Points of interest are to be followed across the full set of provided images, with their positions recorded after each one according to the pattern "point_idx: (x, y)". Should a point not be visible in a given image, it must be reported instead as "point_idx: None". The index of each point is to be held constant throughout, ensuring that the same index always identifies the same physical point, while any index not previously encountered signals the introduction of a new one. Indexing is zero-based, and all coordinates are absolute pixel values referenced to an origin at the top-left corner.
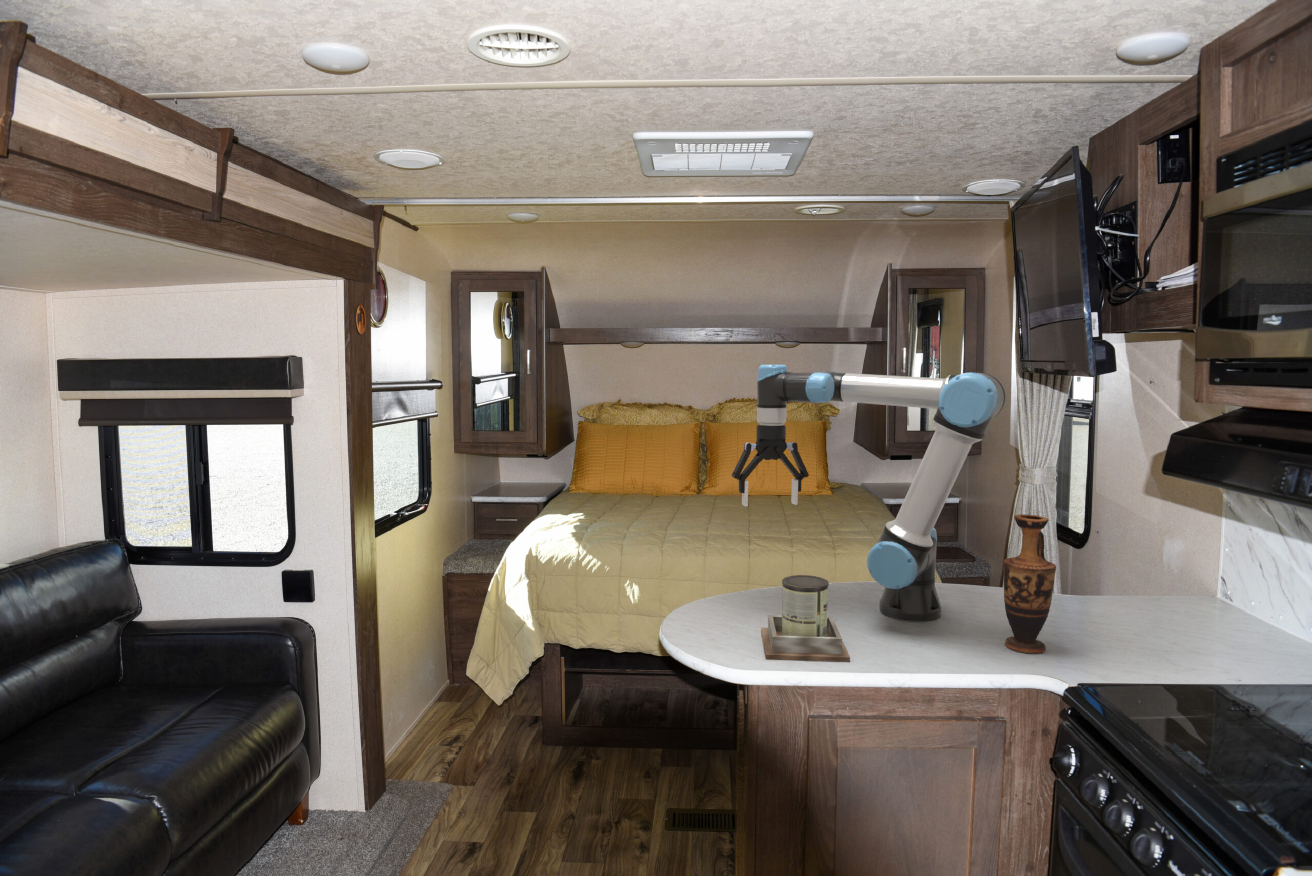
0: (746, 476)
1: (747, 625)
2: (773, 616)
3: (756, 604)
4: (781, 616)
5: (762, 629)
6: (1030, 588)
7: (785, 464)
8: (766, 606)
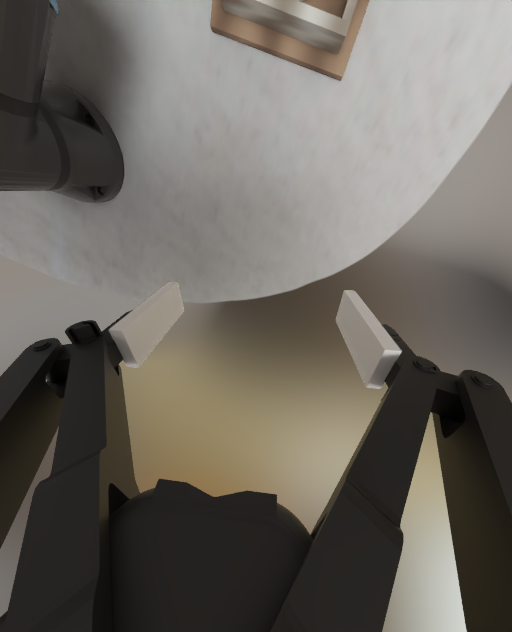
0: (409, 375)
1: (344, 129)
2: (339, 21)
3: (285, 240)
4: (322, 16)
5: (346, 60)
6: None
7: (118, 431)
8: (275, 228)
